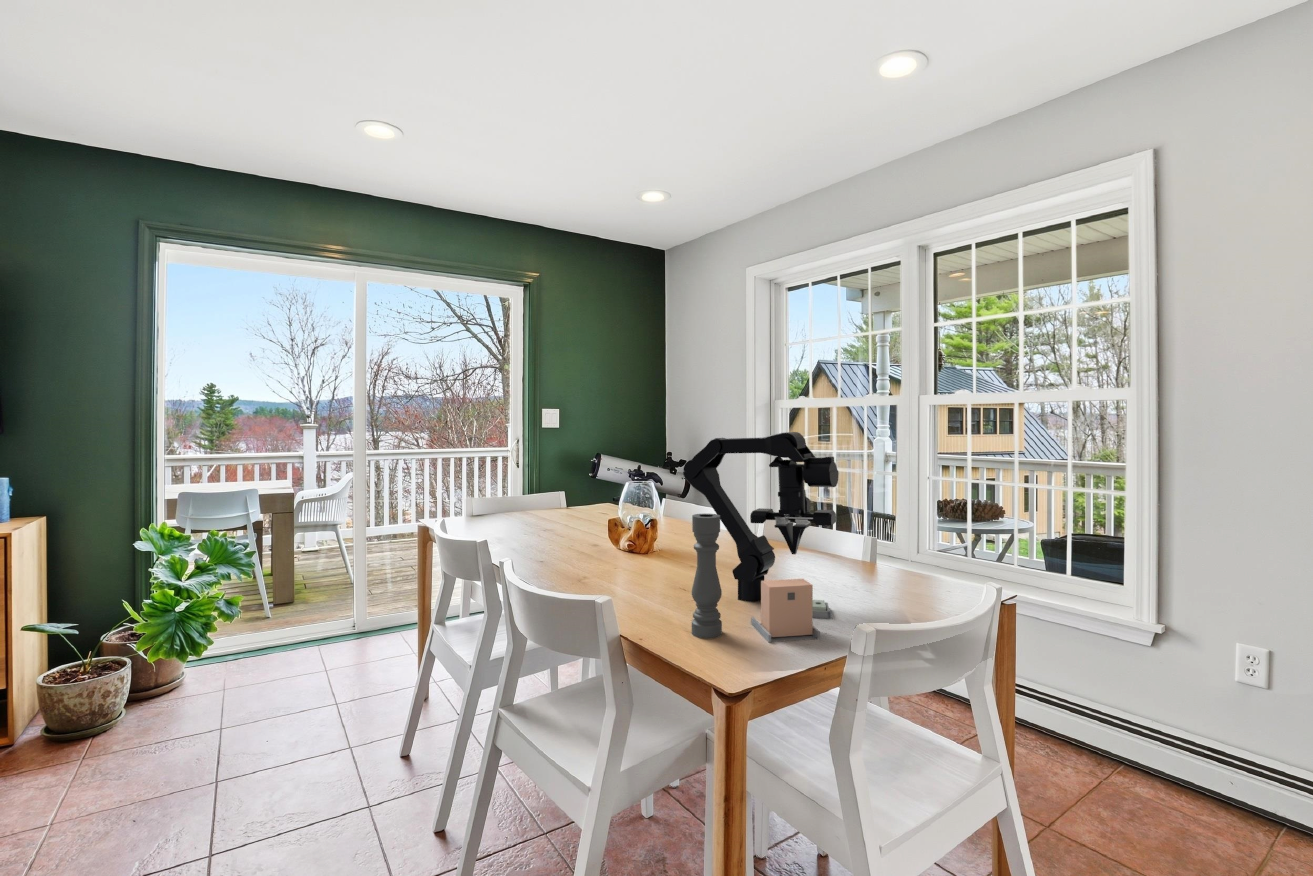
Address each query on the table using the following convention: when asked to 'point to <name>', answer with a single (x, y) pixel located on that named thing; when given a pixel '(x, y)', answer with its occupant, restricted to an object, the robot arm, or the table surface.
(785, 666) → the table surface
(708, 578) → the candle holder
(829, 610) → the button bezel
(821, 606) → the sage button
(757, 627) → the grey tray
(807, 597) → the salmon pink box
